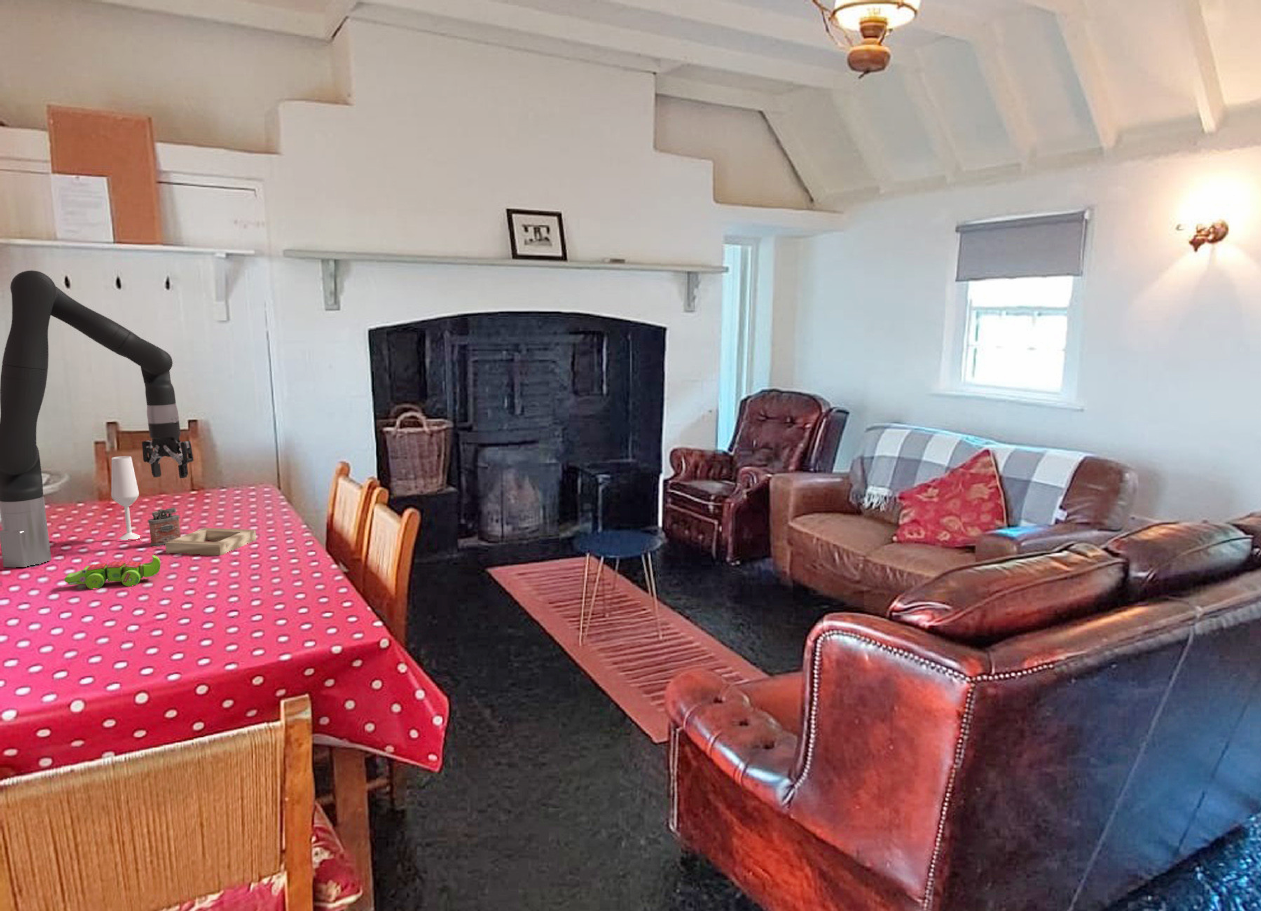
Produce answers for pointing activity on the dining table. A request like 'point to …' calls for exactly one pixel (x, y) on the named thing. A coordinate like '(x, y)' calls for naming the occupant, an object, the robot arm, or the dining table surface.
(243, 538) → the square beige frame
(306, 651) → the dining table surface
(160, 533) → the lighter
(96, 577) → the toy crocodile
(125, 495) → the champagne flute
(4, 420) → the robot arm
